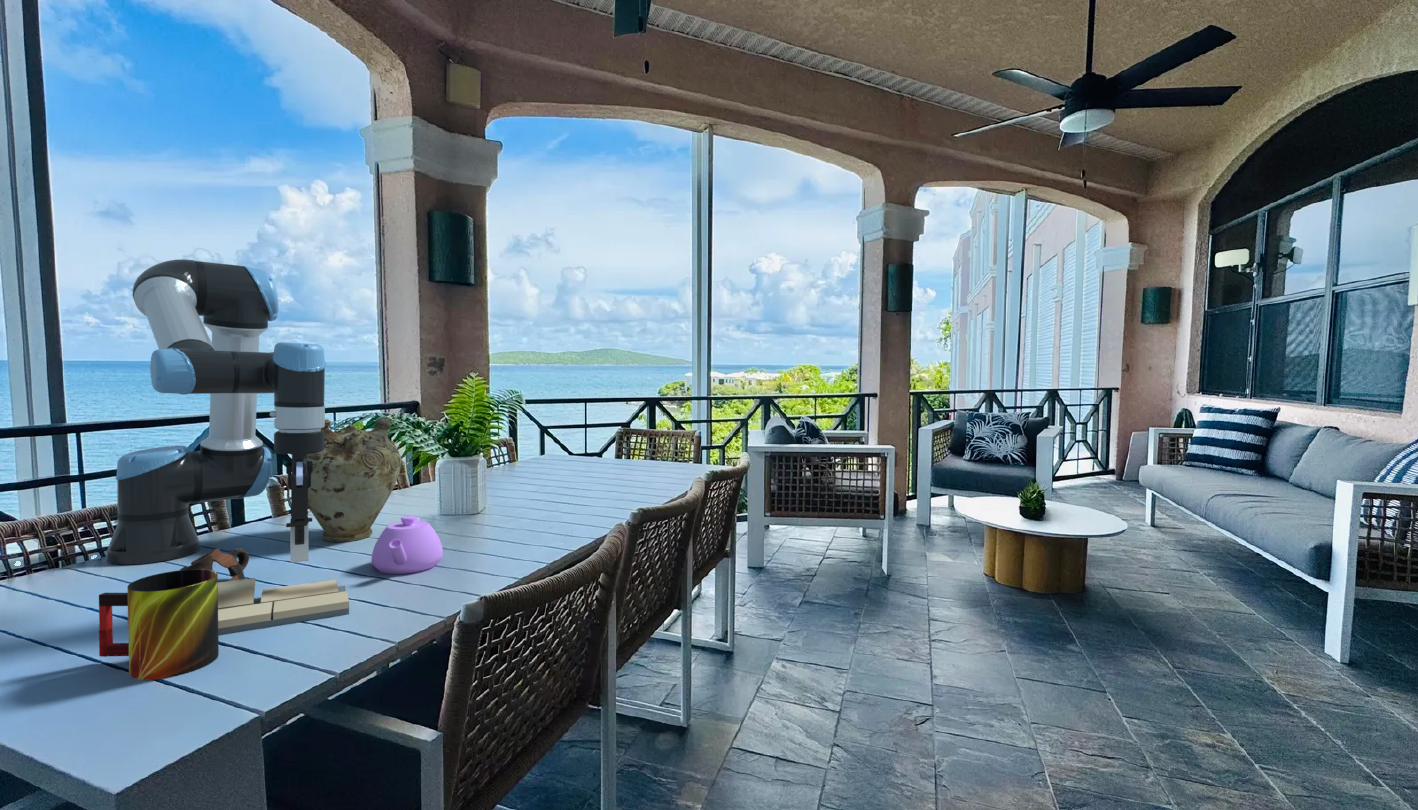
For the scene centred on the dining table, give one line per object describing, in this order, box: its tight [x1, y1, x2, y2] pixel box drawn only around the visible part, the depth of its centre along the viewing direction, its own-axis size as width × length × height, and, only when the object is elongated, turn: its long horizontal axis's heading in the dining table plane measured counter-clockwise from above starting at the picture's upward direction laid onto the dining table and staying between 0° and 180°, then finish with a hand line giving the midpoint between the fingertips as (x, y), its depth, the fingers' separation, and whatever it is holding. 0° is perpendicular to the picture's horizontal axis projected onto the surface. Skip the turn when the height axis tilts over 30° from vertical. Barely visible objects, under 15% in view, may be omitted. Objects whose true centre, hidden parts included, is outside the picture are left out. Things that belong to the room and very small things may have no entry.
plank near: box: [218, 577, 256, 610], centre depth 105 cm, size 6×11×1 cm, turn 122°
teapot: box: [371, 515, 444, 575], centre depth 134 cm, size 14×20×11 cm
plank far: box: [260, 578, 338, 608], centre depth 112 cm, size 6×11×1 cm, turn 123°
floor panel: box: [218, 585, 350, 636], centre depth 106 cm, size 13×26×2 cm, turn 123°
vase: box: [307, 416, 402, 543], centre depth 155 cm, size 23×23×30 cm
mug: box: [98, 569, 220, 681], centre depth 87 cm, size 10×14×12 cm
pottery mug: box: [179, 548, 250, 581], centre depth 120 cm, size 12×10×8 cm
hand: (299, 560), depth 113 cm, fingers closed
